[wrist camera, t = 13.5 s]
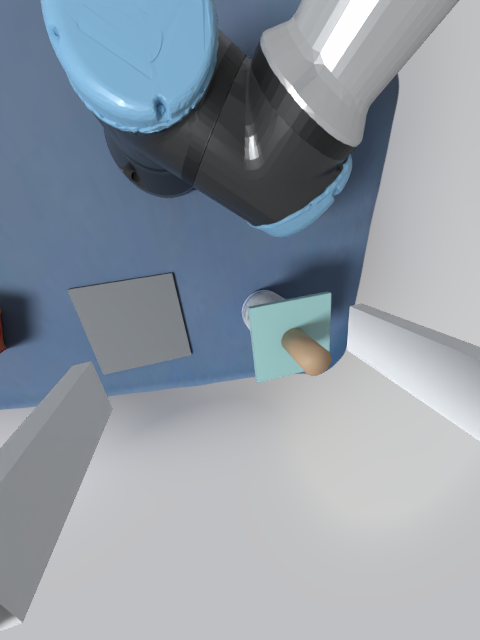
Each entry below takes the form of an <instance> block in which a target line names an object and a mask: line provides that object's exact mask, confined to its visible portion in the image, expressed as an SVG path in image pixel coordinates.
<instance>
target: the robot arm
mask: <svg viewBox="0 0 480 640" xmlns="http://www.w3.org/2000/svg"><path fill="white" fill-rule="evenodd" d="M458 1H459V0H301V3H300V5H299V7H298V9H297V11H296V13H295V14H294V15H293V16H292V18H291V19H290V20H289V21H286V22H284V23H282V24H279V25H277V26H275V27H272V28H270V29H267V30H265V31H264V32H263V34H262V36H261V39H260V41H259V44H258V46H257V49H256V51H255V53H254V56H253V58H252V60H251V59H249V58H248V57H247V56H246V55H245V54H244V53H243V52H242V51H241V50H240V49H239V48H238V47H237V46H236V45H235V44H234V43H233V42H232V41H231V40H229V39H228V38H227V37H226V36H225V35H224V34H223V33H222V32H221V31H220V30H219V29H218V20H217V14H216V10H215V6H214V2H213V0H41V6H42V13H43V17H44V22H45V25H46V29H47V32H48V35H49V38H50V41H51V44H52V46H53V48H54V50H55V53H56V55H57V57H58V59H59V61H60V63H61V65H62V67H63V68H64V70H65V72H66V74H67V76H68V79H69V81H70V83H71V85H72V87H73V88H74V90H75V92H76V93H77V94H78V95H79V97H80V99H81V100H82V101H83V102H84V103H85V104H86V106H87V108H88V109H90V110H91V111H92V112H93V114H94V115H95V116H96V118H97V119H98V120H99V122H100V123H101V124H102V126H103V127H104V133H105V138H106V142H107V145H108V148H109V150H110V153H111V155H112V157H113V159H114V161H115V162H116V164H117V165H118V167H119V168H120V170H121V171H122V172H123V173H124V174H125V176H126V177H127V178H128V179H129V180H130V181H131V182H132V183H133V184H135V185H136V186H137V187H139V188H140V189H141V190H143V191H145V192H147V193H149V194H151V195H154V196H158V197H164V198H173V197H178V196H182V195H184V194H186V193H188V192H190V191H191V190H192V189H194V188H196V189H197V190H199V191H200V192H202V193H203V194H205V195H207V196H208V197H210V198H211V199H213V200H215V201H216V202H218V203H219V204H221V205H222V206H224V207H226V208H227V209H229V210H230V211H232V212H234V213H235V214H237V215H238V216H240V217H241V218H243V219H245V220H246V221H247V223H248V224H249V225H250V226H252V227H255V228H258V229H261V230H262V231H264V232H266V233H268V234H269V235H271V236H274V237H287V236H291V235H294V234H296V233H298V232H300V231H302V230H303V229H305V228H306V227H308V226H309V225H311V224H312V223H313V222H314V221H316V220H317V219H318V218H319V217H320V216H321V215H322V214H323V213H324V212H325V211H326V210H327V209H328V208H329V207H330V206H331V204H332V203H333V202H334V196H336V195H337V194H338V193H340V192H341V191H342V190H343V188H344V186H345V185H346V183H347V181H348V179H349V176H350V173H351V170H352V158H351V152H352V151H353V150H354V149H355V148H356V147H357V146H358V145H359V144H360V143H361V141H362V139H363V133H364V127H365V121H366V115H367V112H368V110H369V107H370V105H371V104H372V103H373V101H374V100H375V99H376V98H377V97H378V95H379V94H380V93H381V92H382V91H383V90H384V88H385V87H386V86H387V85H388V84H389V82H390V81H391V80H392V79H393V78H394V77H395V75H396V74H397V73H398V72H399V71H400V70H401V68H402V67H403V66H404V65H405V64H406V62H407V61H408V60H409V59H410V58H411V57H412V55H413V54H414V53H415V52H416V51H417V49H418V48H419V47H420V46H421V45H422V44H423V42H424V41H425V40H426V39H427V38H428V36H429V35H430V34H431V33H432V32H433V31H434V29H435V28H436V27H437V26H438V25H439V24H440V22H441V21H442V20H443V19H444V18H445V16H446V15H447V14H448V13H449V12H450V10H451V9H452V8H453V7H454V6H455V5H456V3H457V2H458ZM347 350H348V351H349V352H351V353H352V354H354V355H355V356H357V357H358V358H360V359H361V360H362V361H364V362H365V363H367V364H368V365H370V366H371V367H373V368H374V369H376V370H377V371H379V372H380V373H381V374H383V375H384V376H386V377H387V378H389V379H390V380H392V381H393V382H394V383H396V384H397V385H399V386H400V387H402V388H403V389H405V390H406V391H407V392H409V393H411V394H412V395H413V396H415V397H416V398H418V399H419V400H421V401H422V402H423V403H425V404H426V405H428V406H429V407H431V408H432V409H434V410H435V411H437V412H438V413H440V414H441V415H443V416H444V417H445V418H447V419H448V420H450V421H451V422H453V423H454V424H456V425H457V426H459V427H460V428H461V429H463V430H464V431H466V432H467V433H469V434H470V435H471V436H473V437H474V438H476V439H477V440H479V441H480V347H478V346H475V345H473V344H470V343H467V342H464V341H461V340H459V339H456V338H454V337H451V336H448V335H445V334H443V333H440V332H437V331H435V330H432V329H429V328H426V327H424V326H421V325H418V324H416V323H413V322H410V321H408V320H405V319H402V318H400V317H397V316H394V315H391V314H389V313H386V312H383V311H380V310H378V309H375V308H372V307H370V306H367V305H364V304H358V305H353V306H350V311H349V326H348V341H347ZM111 411H112V406H111V404H110V402H109V400H108V397H107V395H106V393H105V391H104V388H103V386H102V384H101V382H100V379H99V377H98V375H97V372H96V370H95V368H94V366H93V363H92V361H91V362H87V363H82V364H77V365H73V366H72V367H71V368H70V369H69V370H68V372H67V373H66V374H65V375H64V376H63V377H62V378H61V380H60V381H59V382H58V383H57V384H56V385H55V386H54V388H53V389H52V390H51V391H50V392H49V393H48V394H47V396H46V397H45V398H44V399H43V400H42V401H41V402H40V404H39V405H38V406H37V407H36V408H35V409H34V411H33V412H32V413H31V414H30V415H29V416H28V417H27V418H26V420H25V421H24V422H23V423H22V424H21V425H20V427H19V428H18V429H17V430H16V431H15V432H14V433H13V434H12V436H11V437H10V438H9V439H8V440H7V442H6V443H5V444H4V445H3V446H2V447H1V448H0V631H2V630H5V629H7V628H9V627H12V626H15V625H18V624H20V623H23V620H24V618H25V616H26V613H27V611H28V609H29V606H30V604H31V602H32V599H33V597H34V594H35V592H36V590H37V587H38V585H39V583H40V580H41V578H42V575H43V573H44V571H45V568H46V566H47V563H48V561H49V559H50V556H51V554H52V552H53V549H54V547H55V545H56V542H57V540H58V537H59V535H60V533H61V530H62V528H63V525H64V523H65V521H66V518H67V516H68V513H69V511H70V509H71V506H72V504H73V501H74V499H75V497H76V494H77V492H78V490H79V487H80V485H81V483H82V480H83V478H84V475H85V473H86V471H87V468H88V466H89V464H90V461H91V459H92V456H93V454H94V452H95V449H96V447H97V445H98V442H99V440H100V437H101V435H102V433H103V430H104V428H105V425H106V423H107V421H108V418H109V416H110V413H111Z"/></svg>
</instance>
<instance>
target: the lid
mask: <svg viewBox="0 0 480 640" xmlns="http://www.w3.org/2000/svg"><path fill="white" fill-rule="evenodd" d="M248 314H249V323H250V331H251V340H252V349H253V358H254V367H255V376H256V381H257V383H259V382H264V381H268V380H272V379H276V378H279V377H283V376H287V375H291V374H295V373H299V372H303V371H305V372H306V373H307V374H308V375H311V376H316V375H319V374H322V373H323V372H324V371H326V370H327V368H328V367H329V365H330V363H331V354H330V352H329V343H330V316H331V293H330V292H328V291H327V292H322V293H317V294H311V295H306V296H301V297H296V298H290V299H285V300H280V301H275V302H270V303H264V304H259V305H254V306H249V307H248Z"/></svg>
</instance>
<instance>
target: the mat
mask: <svg viewBox="0 0 480 640" xmlns="http://www.w3.org/2000/svg"><path fill="white" fill-rule="evenodd" d="M68 293H69V295H70V297H71V300H72V302H73V304H74V307H75V309H76V311H77V314H78V316H79V318H80V321H81V323H82V325H83V328H84V330H85V332H86V335H87V337H88V339H89V342H90V344H91V346H92V349H93V351H94V353H95V356H96V358H97V360H98V363H99V365H100V367H101V370H102V372H103V374H104V375H105V374H109V373H114V372H118V371H123V370H127V369H132V368H136V367H141V366H145V365H149V364H154V363H158V362H163V361H167V360H172V359H176V358H181V357H185V356H190V355H191V350H190V346H189V342H188V338H187V333H186V329H185V325H184V321H183V317H182V312H181V308H180V304H179V300H178V296H177V292H176V287H175V283H174V279H173V275H172V273H168V274H161V275H155V276H149V277H142V278H136V279H130V280H124V281H117V282H111V283H105V284H98V285H92V286H86V287H80V288H73V289H68Z"/></svg>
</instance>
